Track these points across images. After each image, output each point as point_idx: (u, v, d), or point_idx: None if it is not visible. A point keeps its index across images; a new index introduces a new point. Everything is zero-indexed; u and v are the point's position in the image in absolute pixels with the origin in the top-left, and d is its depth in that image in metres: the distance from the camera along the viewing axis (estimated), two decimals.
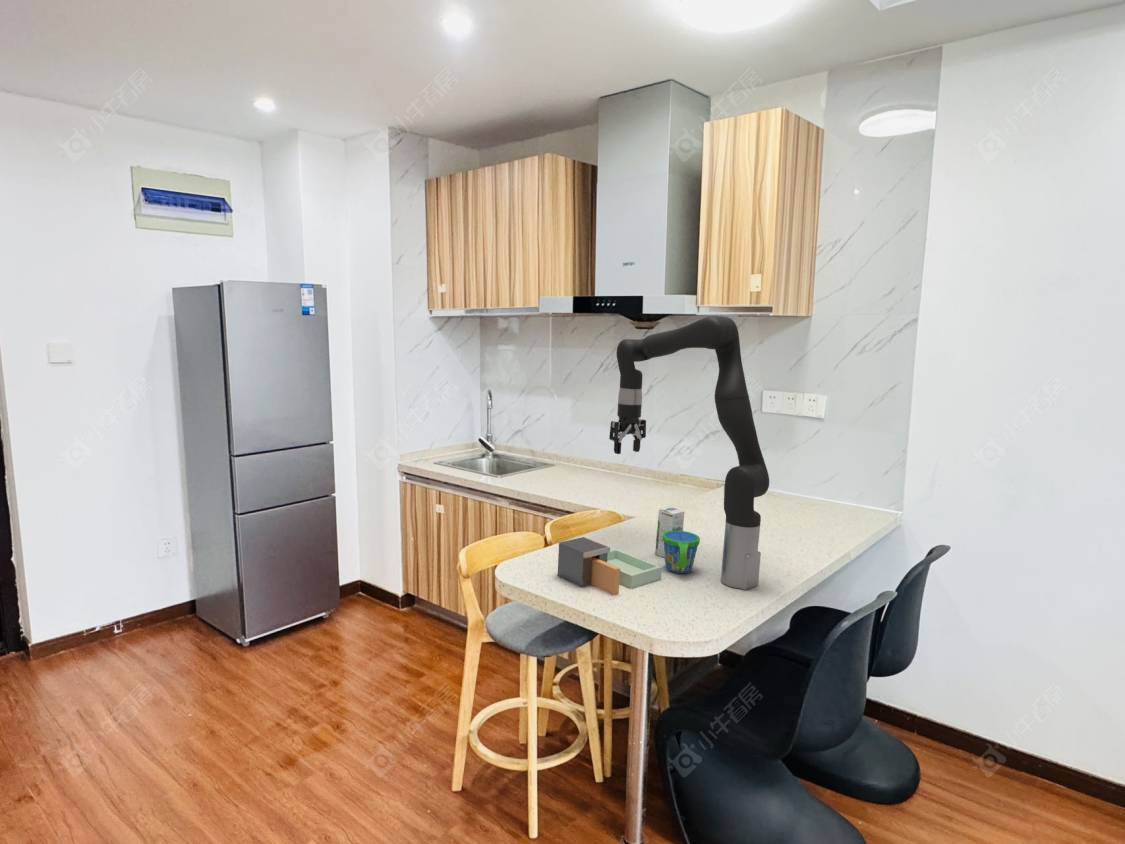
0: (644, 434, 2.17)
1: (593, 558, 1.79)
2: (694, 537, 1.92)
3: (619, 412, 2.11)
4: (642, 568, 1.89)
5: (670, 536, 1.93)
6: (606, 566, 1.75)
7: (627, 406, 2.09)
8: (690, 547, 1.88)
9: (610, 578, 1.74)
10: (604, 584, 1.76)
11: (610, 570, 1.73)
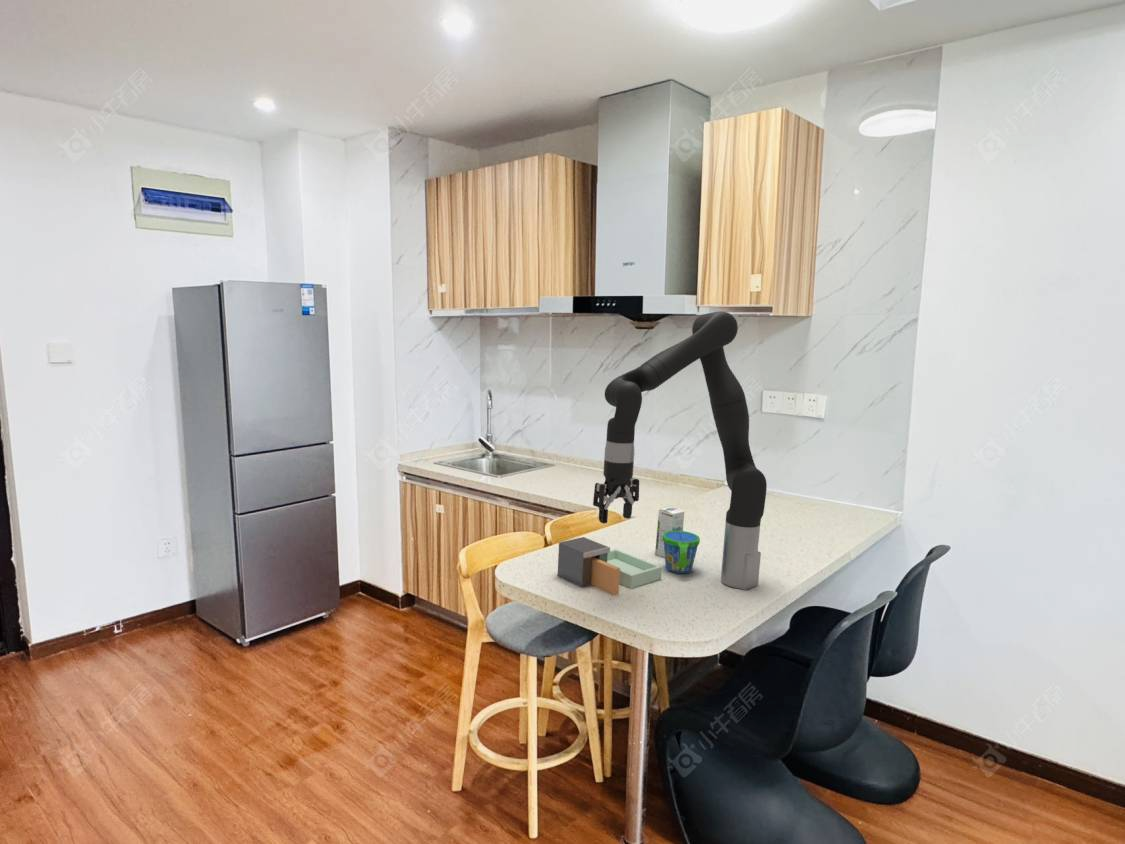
0: (637, 497, 1.75)
1: (593, 558, 1.79)
2: (694, 537, 1.92)
3: (605, 471, 1.69)
4: (642, 568, 1.89)
5: (670, 536, 1.93)
6: (606, 566, 1.75)
7: (615, 464, 1.67)
8: (690, 547, 1.88)
9: (610, 578, 1.74)
10: (604, 584, 1.76)
11: (610, 570, 1.73)
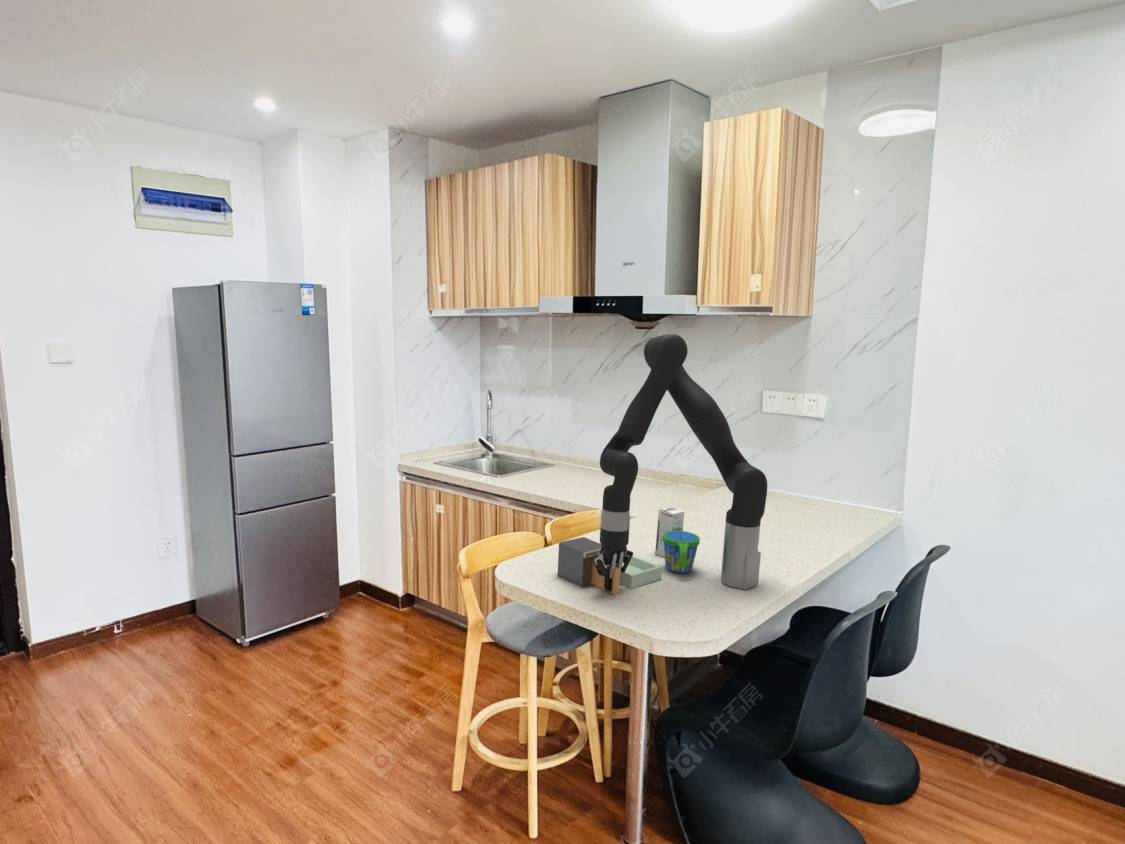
0: (624, 568, 1.75)
1: None
2: (694, 537, 1.92)
3: (602, 539, 1.71)
4: (642, 568, 1.89)
5: (670, 536, 1.93)
6: None
7: (611, 533, 1.69)
8: (690, 547, 1.88)
9: None
10: None
11: None
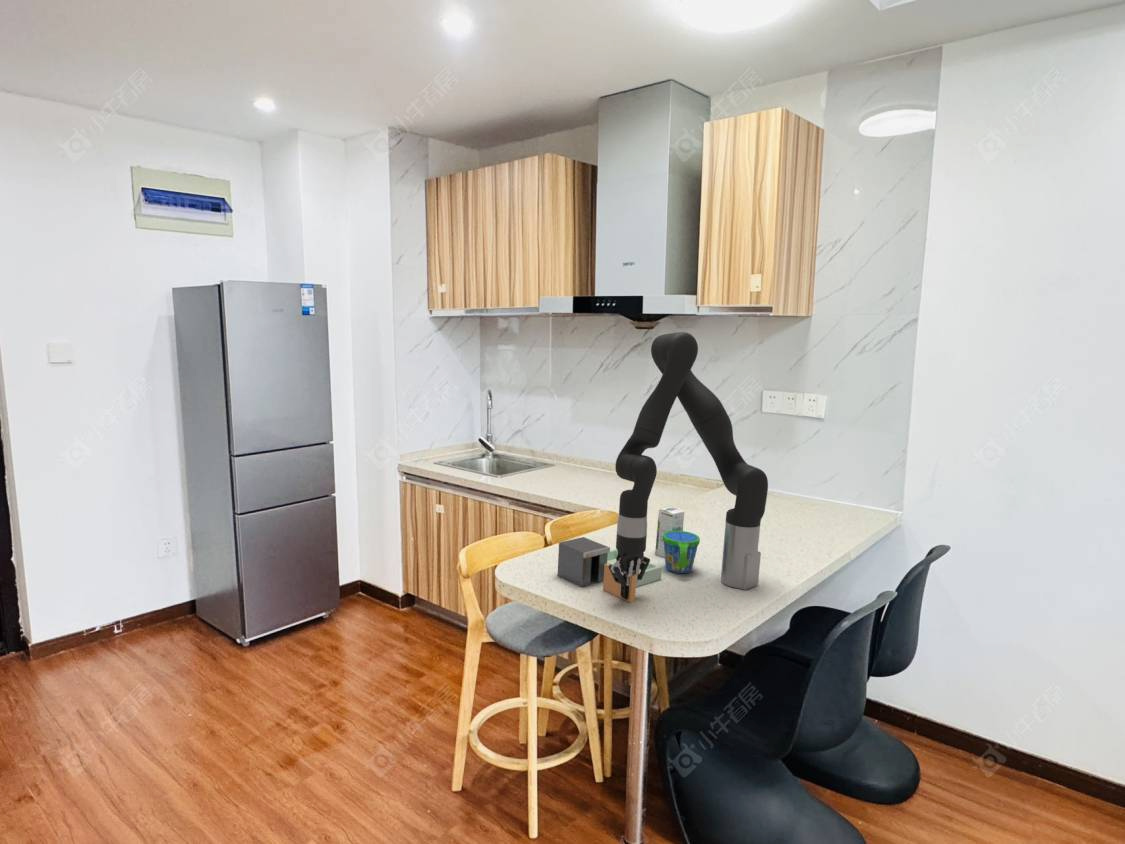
0: (641, 575, 1.71)
1: (608, 564, 1.75)
2: (694, 537, 1.92)
3: (618, 545, 1.67)
4: None
5: (670, 536, 1.93)
6: None
7: (628, 539, 1.64)
8: (690, 547, 1.88)
9: None
10: (619, 590, 1.71)
11: None
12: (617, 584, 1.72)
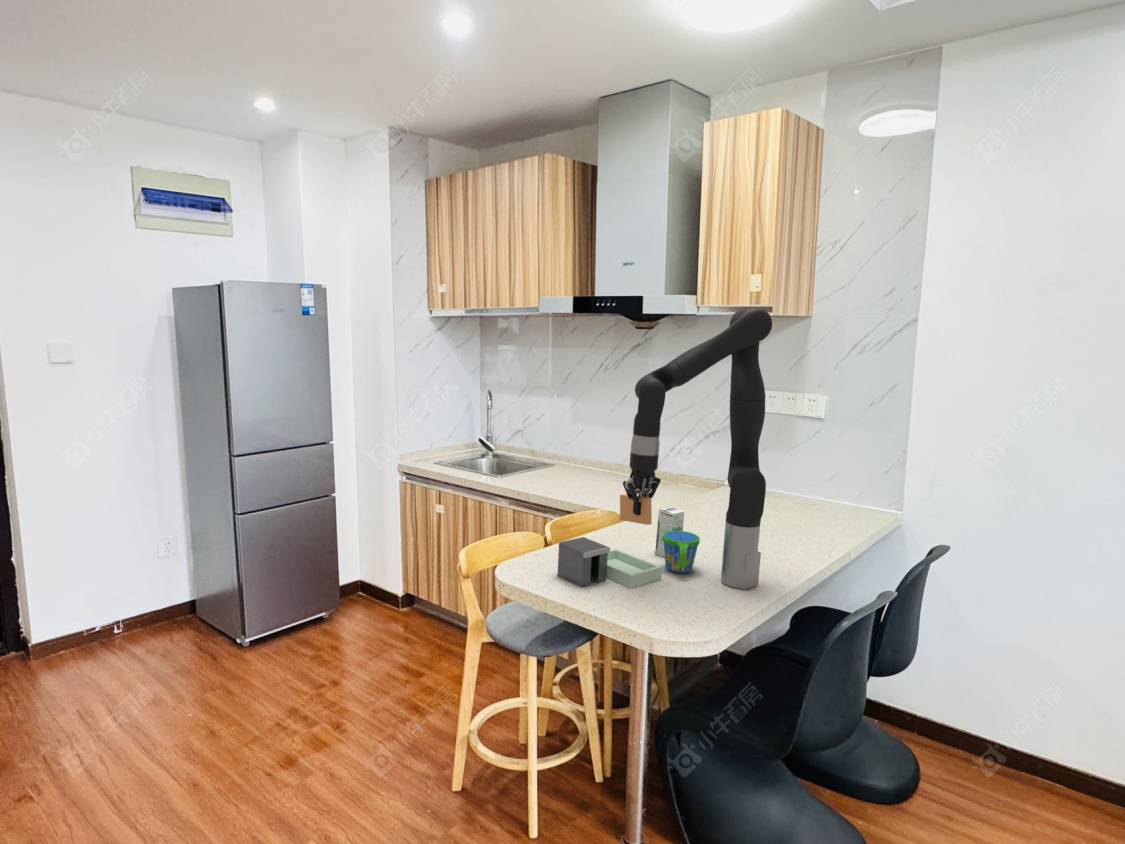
0: (652, 494, 1.82)
1: (623, 494, 1.85)
2: (694, 537, 1.92)
3: (632, 463, 1.77)
4: (642, 568, 1.89)
5: (670, 536, 1.93)
6: None
7: (642, 457, 1.75)
8: (690, 547, 1.88)
9: (642, 509, 1.79)
10: (636, 516, 1.81)
11: (642, 501, 1.79)
12: None
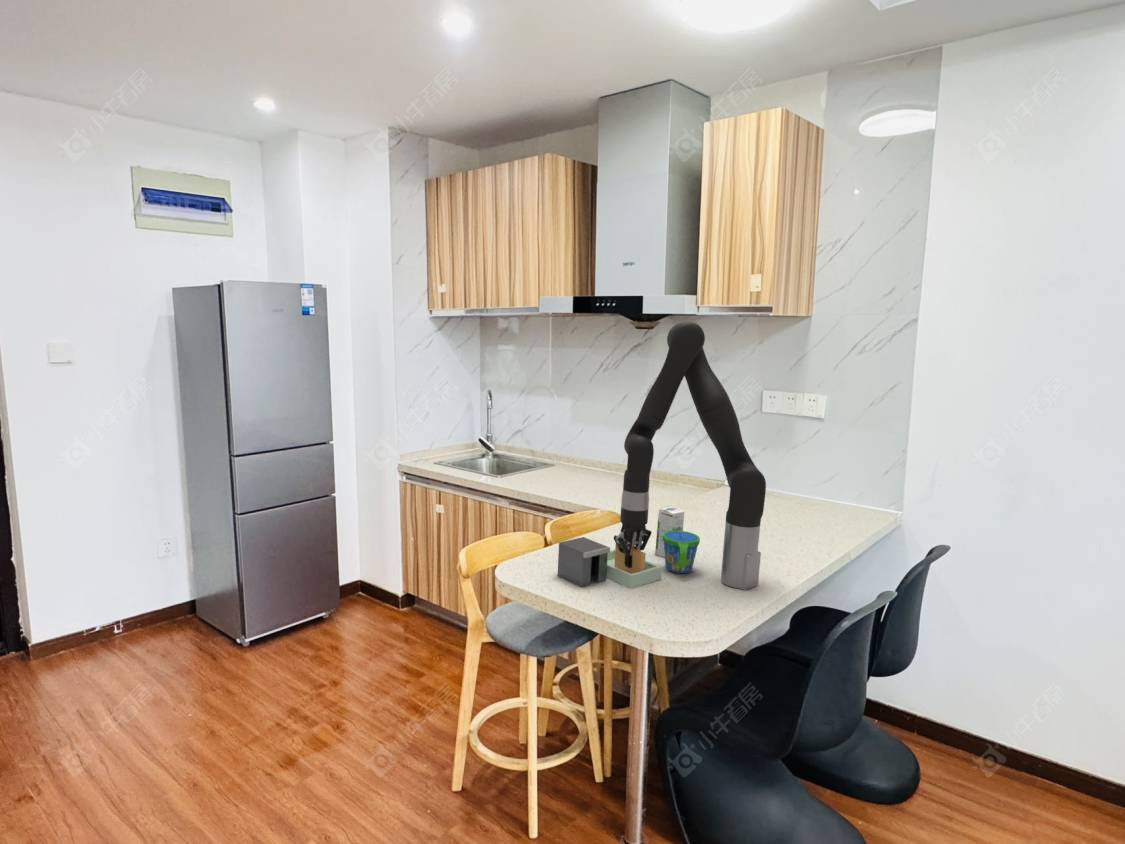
0: (643, 546, 1.86)
1: None
2: (694, 537, 1.92)
3: (622, 518, 1.82)
4: None
5: (670, 536, 1.93)
6: None
7: (632, 512, 1.80)
8: (690, 547, 1.88)
9: (636, 563, 1.83)
10: (630, 568, 1.85)
11: (636, 555, 1.82)
12: None
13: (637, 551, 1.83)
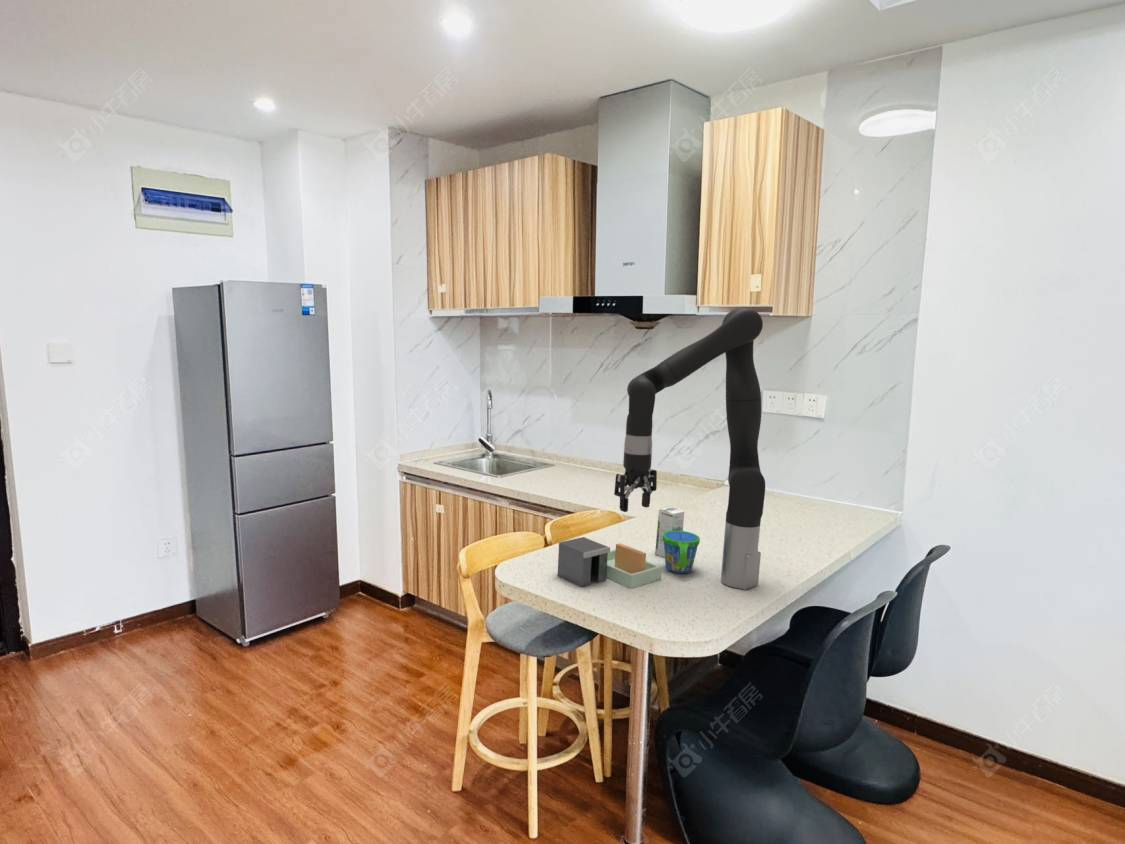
0: (655, 486, 1.86)
1: (619, 544, 1.88)
2: (694, 537, 1.92)
3: (625, 463, 1.80)
4: None
5: (670, 536, 1.93)
6: (632, 551, 1.84)
7: (635, 456, 1.78)
8: (690, 547, 1.88)
9: (636, 563, 1.83)
10: (630, 568, 1.85)
11: (636, 555, 1.82)
12: (628, 562, 1.85)
13: (637, 551, 1.83)
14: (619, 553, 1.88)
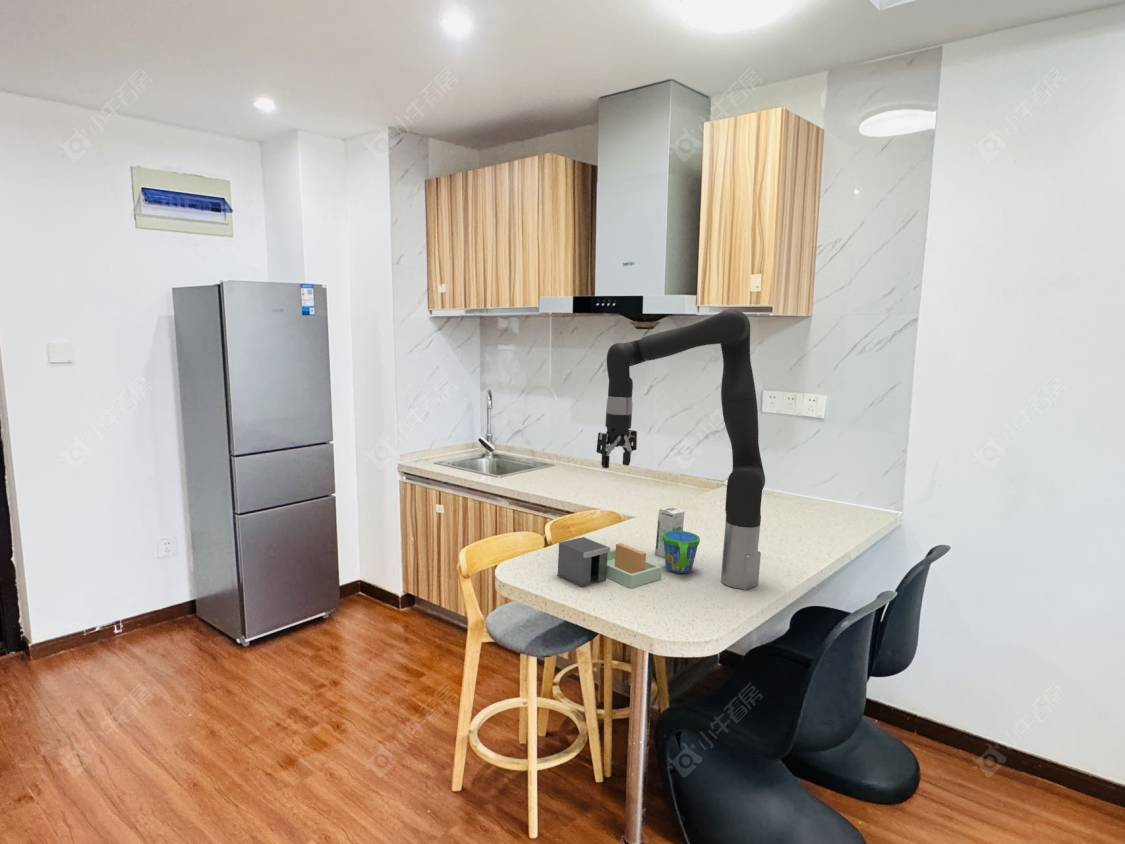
0: (635, 446, 1.99)
1: (619, 544, 1.88)
2: (694, 537, 1.92)
3: (607, 422, 1.93)
4: None
5: (670, 536, 1.93)
6: (632, 551, 1.84)
7: (616, 416, 1.91)
8: (690, 547, 1.88)
9: (636, 563, 1.83)
10: (630, 568, 1.85)
11: (636, 555, 1.82)
12: (628, 562, 1.85)
13: (637, 551, 1.83)
14: (619, 553, 1.88)
